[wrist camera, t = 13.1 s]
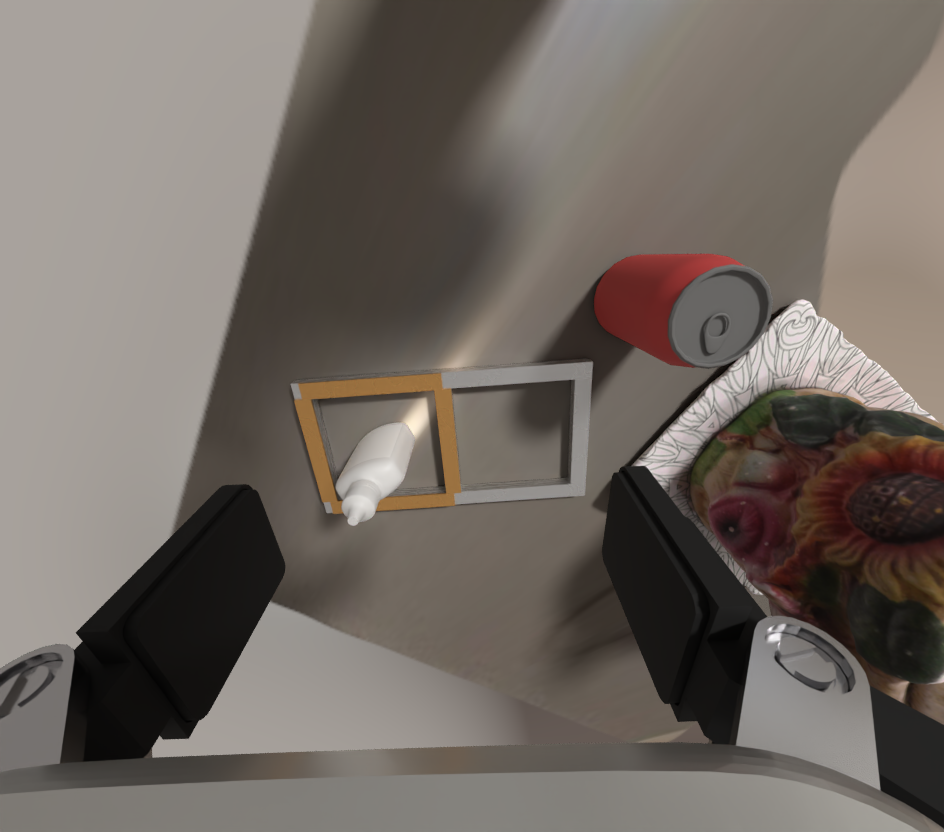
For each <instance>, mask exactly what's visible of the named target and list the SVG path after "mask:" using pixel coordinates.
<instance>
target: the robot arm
mask: <svg viewBox="0 0 944 832" xmlns="http://www.w3.org/2000/svg"><path fill="white" fill-rule="evenodd" d="M602 555H603V560H604V563H605V566H606V568H607V571H608V573H609V576H610V578H611V581H612V583H613V585H614V588H615V590H616V593H617V595H618V598H619V600H620V602H621V605H622V607H623V610H624V612H625V615H626V617H627V619H628V622H629V624H630V627H631V629H632V632H633V634H634V636H635V639H636V641H637V644H638V646H639V649H640V651H641V653H642V656H643V658H644V661H645V663H646V666H647V668H648V670H649V673H650V675H651V678H652V680H653V683H654V685H655V687H656V690H657V692H658V694H659V697H660V698H661V700H662V701H663V702H664V703H665V704H671V707H672V709H673V711H674V714H675V716H676V718H677V721H678V722H684V721H698V723H699V725H700V727H701V729H702V731H703V733H704V735H705V736H706V737H707V738H709V742H708V744H702V743H683V742H681V743H680V742H674V743H672V742H671V743H576V744H543V745H542V744H540V745H507V746H473V747H472V746H471V747H469V746H468V747H436V748H405V749H375V750H344V751H316V752H286V753H260V754H236V755H211V756H186V757H159V758H152V747H153V745H154V743H155V742H156V740H157V739H158V737H159V735H160V736H161V737H162V739H188V738H189V737H190V735H191V734H192V732H193V730H194V728H195V726H196V725H197V723H198V721H199V720H201V719H203V718H204V717H205V716H206V715H207V714H208V712H209V711H210V709H211V708H212V705H213V704H214V702H215V700H216V698H217V697H218V695H219V693H220V691H221V689H222V687H223V686H224V684H225V682H226V680H227V678H228V677H229V675H230V673H231V671H232V669H233V667H234V665H235V664H236V662H237V660H238V658H239V656H240V655H241V653H242V651H243V649H244V647H245V646H246V644H247V642H248V640H249V638H250V636H251V635H252V633H253V631H254V629H255V627H256V625H257V624H258V621H259V620H260V618H261V616H262V614H263V613H264V611H265V609H266V607H267V605H268V604H269V602H270V600H271V598H272V596H273V594H274V593H275V591H276V589H277V587H278V585H279V584H280V582H281V580H282V578H283V576H284V573H285V562H284V559H283V556H282V554H281V551H280V549H279V546H278V543H277V541H276V538H275V535H274V533H273V530H272V528H271V525H270V522H269V520H268V517H267V514H266V512H265V509H264V507H263V504H262V501H261V499H260V496H259V494H258V492H257V491H256V490H253V489H252V487H250V486H249V485H246V484H243V485H225V486H222V487H221V488H219V489H218V490H217V491H216V492H215V493H214V494H213V495H212V496H211V497H210V498H209V499H208V500H207V501H206V502H205V503H204V504H203V505H202V506H201V507H200V508H199V509H198V510H197V511H196V512H195V513H194V514H193V515H192V516H191V517H190V518H189V519H188V520H187V521H186V522H185V523H184V524H183V525H182V526H181V527H180V528H179V529H178V530H177V531H176V532H175V533H174V534H173V535H172V536H171V537H170V538H169V539H168V540H167V541H166V542H165V543H164V544H163V546H161V548H160V549H158V550H157V551H156V552H155V554H154V555H153V556H152V557H151V558H150V559H149V560H148V561H147V562H146V563H145V564H144V565H143V566H142V567H141V568H140V569H139V570H138V571H137V572H136V573H135V574H134V575H133V576H132V577H131V578H130V579H129V580H128V581H127V582H126V583H125V584H124V585H123V586H122V587H121V588H120V589H119V590H118V591H117V592H116V593H115V594H114V595H113V596H112V597H111V598H110V599H109V600H108V601H107V602H106V603H105V604H104V605H103V606H102V607H101V608H100V609H99V610H98V611H97V612H96V613H95V614H94V615H93V616H92V617H91V618H90V619H89V620H88V621H87V622H86V623H85V624H84V625H83V626H82V627H81V628H80V629H79V630H78V631H77V632H76V634H77V635H78V636H79V637H80V639H81V640H82V641H83V642H82V643H81V644H80V645H79V646H78V647H77V648H76V649H75V650H74V649H72V648H71V647H70V646H68V645H63V644H55V645H51V646H46V647H42V648H39V649H37V650H34V651H32V652H29V653H27V654H24V655H23V656H21V657H19V658H17V659H15V660H13V661H12V662H10V663H8V664H6V665H5V666H3V667H2V668H0V832H944V725H943V724H941V723H939V722H938V721H936V720H934V719H932V718H930V717H928V716H926V715H924V714H923V713H921V712H919V711H917V710H915V709H913V708H911V707H909V706H907V705H906V704H904V703H902V702H900V701H898V700H896V699H894V698H892V697H891V696H889V695H887V694H885V693H883V692H881V691H879V690H877V689H875V688H874V687H872V686H870V685H869V682H868V679H867V676H866V673H865V671H864V670H863V668H862V667H861V665H860V664H859V662H858V661H857V659H856V658H855V657H854V656H853V655H852V654H851V653H850V652H849V651H848V650H847V649H846V648H845V647H844V646H843V645H842V644H841V643H839V642H838V641H837V640H835V639H834V638H833V637H831V636H830V635H828V634H827V633H826V632H824V631H822V630H820V629H818V628H816V627H815V626H813V625H811V624H809V623H806V622H803V621H800V620H797V619H795V618H791V617H784V616H772V617H767V616H766V615H765V613H764V612H763V611H762V609H761V608H760V607H759V606H758V604H757V603H756V602H755V601H754V599H753V598H752V597H751V595H750V594H749V593H748V592H747V590H746V589H745V588H744V586H743V585H742V584H741V583H740V581H739V580H738V579H737V578H736V576H735V575H734V574H733V572H732V571H731V570H730V569H729V567H728V566H727V565H726V563H725V562H724V561H723V560H722V558H721V557H720V556H719V555H718V553H717V552H716V551H715V549H714V548H713V547H712V546H711V544H710V543H709V542H708V540H707V539H706V538H705V537H704V535H703V534H702V533H701V532H700V530H699V529H698V528H697V526H696V525H695V524H694V523H693V522H692V521H691V520H690V519H689V518H688V517H685V516H684V515H683V514H682V512H681V511H680V510H679V508H678V507H677V506H676V505H675V503H674V502H673V501H672V499H671V498H670V497H669V495H668V494H667V493H666V492H665V490H664V489H663V488H662V486H661V485H660V484H659V482H658V481H657V480H656V478H655V477H654V476H653V475H652V473H651V472H650V471H649V469H648V468H647V467H646V466H626V467H621V468H620V470H619V472H618V473H614V474H613V476H612V482H611V489H610V496H609V504H608V511H607V518H606V525H605V533H604V540H603V547H602Z"/></svg>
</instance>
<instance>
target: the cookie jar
mask: <svg viewBox="0 0 944 832" xmlns="http://www.w3.org/2000/svg"><path fill="white" fill-rule="evenodd" d="M843 336H844V335H843V333H842V331H840V330H839V329H837V328H836V327H835V326H834V325H832V324H831V323H830V322H828V321H827V320H826V318H822V317H819V316H817V315H816V312H815V309H814V308H813V307H812V305H811V303H810V302H808V301H805V300H797V301H795V302H794V303H792V304H791V305H789V306H788V307H787V308H786V309H785V310H784V311H783V312H782V313H781V314H780V315H779V316H777V317H776V318H775V319H774V320H773V321H772V322H771V323H770V324H769V325H768V326H767V327H766V329H765V332H764V334H763V335H762V336H761V338H760V339H759V340H758V342H757V343H756V344H755V345H754V347H753V348H752V349H750V350H749V351H748V352H747V353H745V354H744V355H743V356H742V357H741V358H739V359H738V360H737V361H736V362H735V363H734V364H733V365H731V366H730V367H729V368H728V369H727V370H726V371H725V372H724V373H723V374H722V375H721V376H719V377H718V378H717V379H716V380H714V381H713V382H712V383H710V384H709V385H708V386H707V387H706V388H705V389H704V390H703V391H702V393H701V394H700V395H699V396H698V397H697V398H696V399H695V400H694V401H693V402H692V403H691V404H690V405H689V406H688V407H687V408H686V409H685V410H684V411H683V412H682V414H681V415H680V416H679V417H678V418H677V419H676V420H675V421H674V422H673V423H672V424H671V425H670V426H669V427H668V428H667V429H666V430H665V431H664V432H663V433H662V434H661V435H660V436H659V437H658V438H657V439H656V440H655V441H654V442H653V443H652V444H651V445H650V446H649V447H648V449H647V450H646V451H645V452H644V453H643V454H642V455H641V456H640V457H639V458H638V459H637V460H636V461H635V462H634V463H633V465H632V466H646V467H647V468H648V469H649V471H650V472H651V473H652V475H653V476H654V477H655V478H656V480H657V481H658V482H659V484H660V485H661V486H662V488H663V489H664V490H665V492H666V493H667V494H668V495H669V497H670V498H671V499H672V501H673V502H674V503H675V505H676V506H677V507H678V508H679V510H680V511H681V512H682V514H683V515H684V516H685V517H688V518H689V519H690V520H691V521H692V522H693V523H694V524H695V525H696V526H697V528H698V529H699V530H700V532H701V533H702V534H703V535H704V537H705V538H706V539H707V540H708V542H709V543H710V544H711V546H712V547H713V548H714V549H715V551H716V552H717V553H718V555H719V556H720V557H721V558H722V560H723V561H724V562H725V563H726V565H727V566H728V567H729V569H730V570H731V571H732V572H733V574H734V575H735V576H736V578H737V579H738V580H739V581H740V583H741V584H742V585H744V586H747V587H748V589H749V591H750V592H751V593H753V594H758V595H765V596H766V597H767V598H768V599H769V606H770V611H771V615H772V616H784V617H791V618H795V619H797V620H800V621H803V622H806V623H809V624H811V625H813V626H815V627H816V628H818V629H820V630H822V631H824V632H826V633H827V634H828V635H830V636H831V637H833V638H834V639H835V640H837V641H838V642H839V643H841V644H842V645H843V646H844V647H845V648H846V649H847V650H848V651H849V652H850V653H851V654H852V655H853V656H854V657H855V658H856V659H857V661H858V662H859V664H860V665H861V667H862V668H863V670H864V671H865V673H866V676H867V679H868V682H869V685H870V686H872V687H874V688H875V689H877V690H879V691H881V692H883V693H885V694H887V695H889V696H891V697H892V698H894V699H896V700H898V701H900V702H902V703H904V704H906V705H907V706H909V707H911V708H913V709H915V710H917V711H919V712H921V713H923V714H924V715H926V716H928V717H930V718H932V719H934V720H936V721H938V722H939V723H941V724H943V725H944V425H943V424H941V423H940V422H938V421H936V419H935V418H934V417H932V416H931V414H929V413H928V412H926V411H924V410H922V409H921V408H920V407H919V405H918V404H917V403H916V402H915V401H914V400H913V398H912V397H911V396H910V395H909V394H908V393H906V392H904V391H903V389H902V388H901V387H900V386H899V384H898V383H897V382H896V380H895V379H894V378H892V377H891V376H890V375H889V373H888V372H887V371H886V370H884V369H883V368H882V367H881V366H880V365H878V364H877V363H876V362H874V361H873V360H870V359H868V357H867V356H866V355H865V354H864V353H863V352H862V351H861V350H860V349H859V348H857V347H856V346H854V345H852V344H851V343H849V342H847V340H846V339H843Z"/></svg>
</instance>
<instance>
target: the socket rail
mask: <svg viewBox="0 0 944 832" xmlns="http://www.w3.org/2000/svg"><path fill="white" fill-rule="evenodd" d="M592 370H593V361H592V360H590V359H589V358H585V359H571V360H557V361H544V362H530V363H516V364H503V365H489V366H476V367H462V368H448V369H435V370H421V371H407V372H394V373H380V374H366V375H353V376H339V377H325V378H312V379H298V380H295V381H294V382H292V383H291V388H292V391H293V395H294V398H295V400H294V402H295V406H296V410H297V413H298V417H299V420H300V424H301V427H302V431H303V434H304V438H305V442H306V445H307V449H308V452H309V456H310V459H311V463H312V466H313V470H314V474H315V477H316V481H317V484H318V488H319V491H320V495H321V498H322V502H324V505H325V509H326V513H333V514H340V513H343V511H342V508H341V506H342V501H343V500H342V498H341V497H340V496H339V494H338V493H337V491H336V487H335V486H336V483H337V480H338V477H337V473H336V469H335V465H334V461H333V457H332V453H331V449H330V445H329V441H328V437H327V433H326V429H325V425H324V421H323V417H322V413H321V410H320V406H319V402H318V399H323V398H336V397H350V396H364V395H378V394H391V393H405V392H419V391H433V390H434V393H435V402H436V410H437V419H438V427H439V436H440V444H441V453H442V461H443V470H444V478H445V486H438V487H424V488H410V489H395V490H394V491H393V492H392V493H391V494H389V495H388V496H387V497H385V498H383V499H382V500H380V501H379V503H378V506H377V509H376V511H384V510H398V509H413V508H428V507H442V506H455V504H468V503H483V502H497V501H512V500H527V499H541V498H556V497H570V496H585V484H586V468H587V451H588V435H589V419H590V403H591V386H592ZM560 380H571V400H570V426H569V452H568V478H554V479H539V480H525V481H510V482H496V483H482V484H467V485H461V476H460V465H459V455H458V445H457V435H456V424H455V414H454V404H453V394H452V388H464V387H478V386H492V385H505V384H519V383H533V382H547V381H560Z"/></svg>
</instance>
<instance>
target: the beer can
mask: <svg viewBox="0 0 944 832" xmlns="http://www.w3.org/2000/svg"><path fill="white" fill-rule="evenodd" d="M772 304H773V300H772V295H771V290H770V286H769V285H768V283H767V282H766V280H765V279H764V277H763V276H762V274H760V273H758V272H757V271H755V270H753V269H752V268H750V267H748V266H744V265H742V264H741V263H739V262H737V261H736V260H734V259H732V258H729V257H727V256H721V255H714V254H659V255H636V256H631V257H626V258H625V259H623V260H621V261H619V262H617V263H616V264H614V265H613V266H612V267H611V268H610V269H609V270H608V271H607V272H606V273H605V274H604V275H603V277H602V279H601V281H600V282H599V284H598V286H597V289H596V293H595V297H594V309H595V314H596V317H597V319H598V322H599V324H600V325H601V326H602V327H603V328H604V329H605V330H606V331H607V332H609V333H611V334H613V335H614V336H616V337H618V338H620V339H622V340H624V341H626V342H628V343H630V344H631V345H633V346H635V347H637V348H639V349H641V350H643V351H645V352H647V353H649V354H650V355H652V356H654V357H656V358H658V359H660V360H662V361H664V362H666V363H668V364H670V365H675V366H683V367H692V368H694V367H700V368H708V369H709V368H715V367H720V366H725V365H727V364H729V363H731V362H733V361H735V360H737V359H739V358H741V357H742V356H743V355H744V354H745V353H747V352H748V351H749V350H750V349H752V348H753V347H754V345H755V344H756V343H757V342H758V340H759V339H760V338H761V336H762V335H763V334H764V332H765V329H766V327H767V325H768V323H769V320H770V318H771V311H772Z"/></svg>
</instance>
